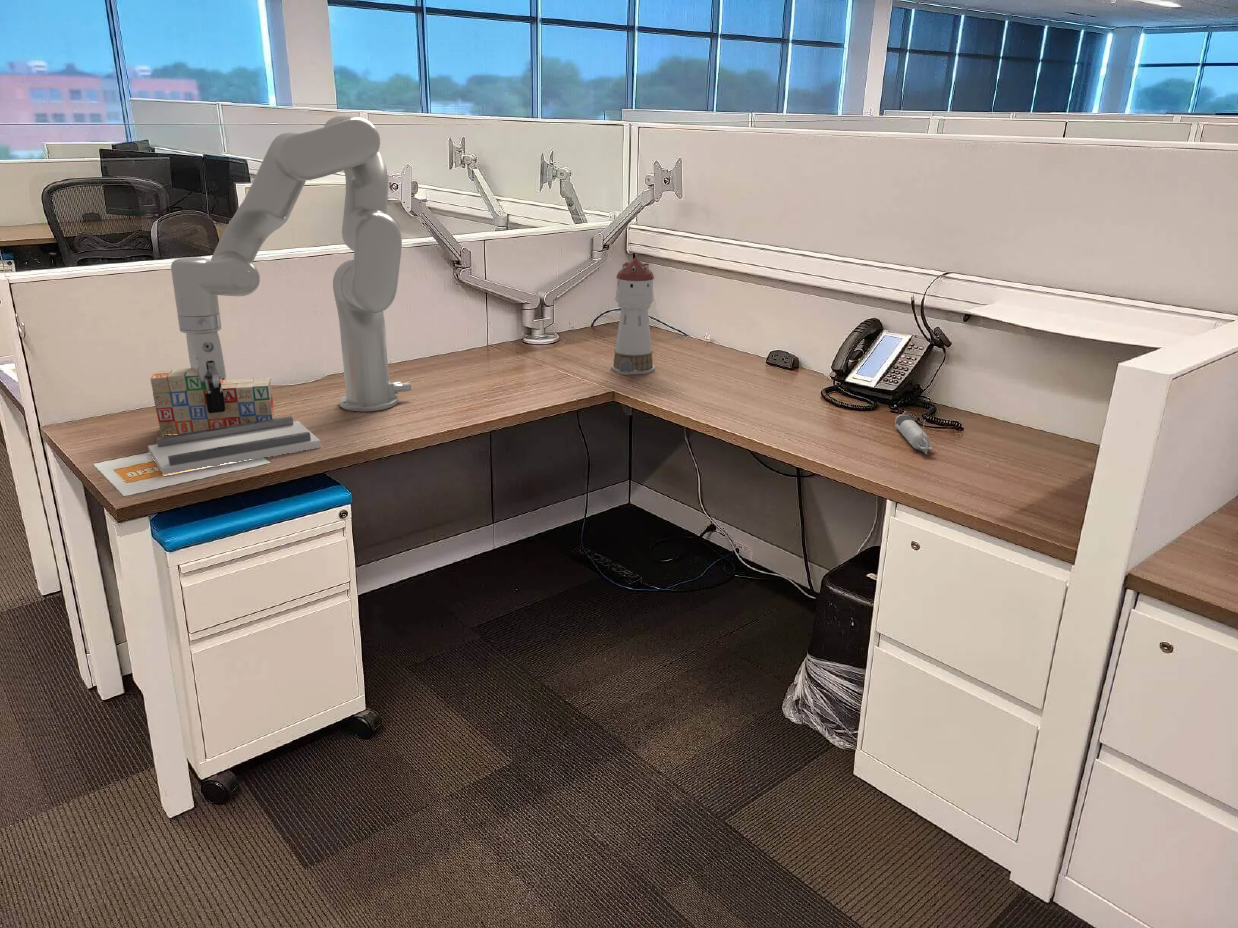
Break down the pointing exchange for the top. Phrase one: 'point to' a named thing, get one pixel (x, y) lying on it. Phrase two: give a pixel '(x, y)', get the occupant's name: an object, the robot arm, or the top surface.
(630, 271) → the miniature model
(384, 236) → the robot arm
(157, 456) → the base board
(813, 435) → the top surface
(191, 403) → the stack of blocks
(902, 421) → the torpedo
